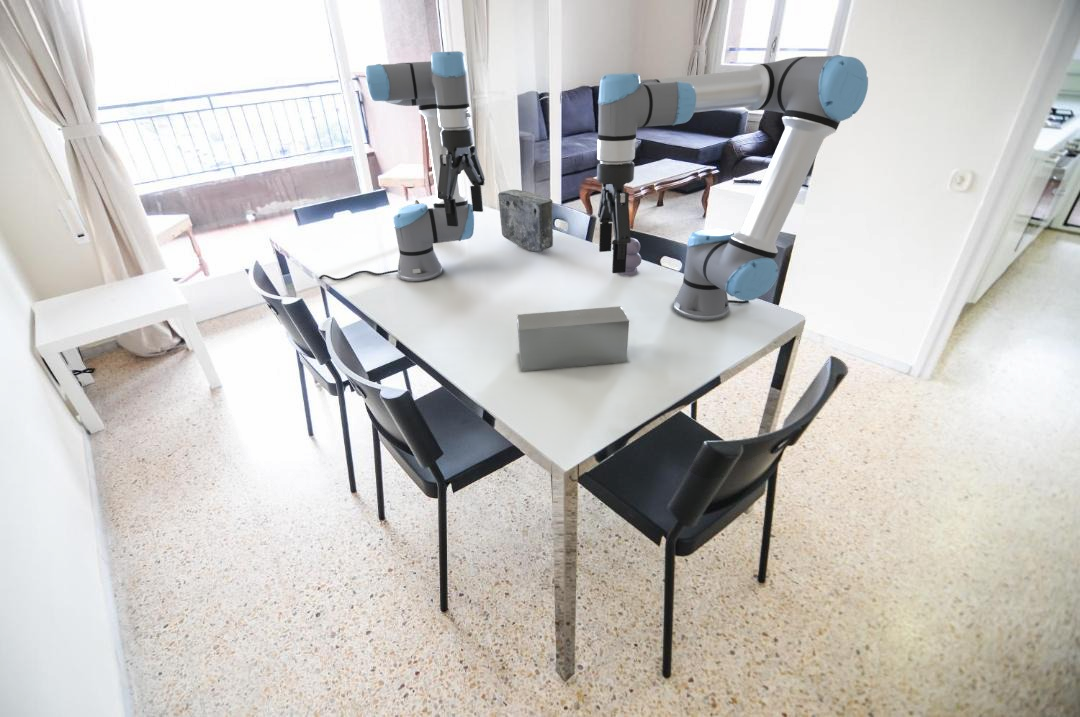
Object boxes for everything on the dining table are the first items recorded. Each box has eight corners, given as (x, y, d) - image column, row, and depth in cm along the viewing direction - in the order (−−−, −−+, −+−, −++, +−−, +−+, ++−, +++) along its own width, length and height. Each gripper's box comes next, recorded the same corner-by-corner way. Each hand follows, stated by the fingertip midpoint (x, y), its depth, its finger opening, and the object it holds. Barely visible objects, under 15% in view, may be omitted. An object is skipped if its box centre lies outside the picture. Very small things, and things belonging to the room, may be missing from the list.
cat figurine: (645, 271, 170) (647, 237, 164) (632, 278, 165) (634, 243, 159) (624, 266, 175) (626, 232, 169) (611, 272, 170) (612, 238, 164)
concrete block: (558, 253, 189) (557, 199, 178) (539, 258, 184) (537, 204, 174) (519, 237, 207) (516, 187, 197) (501, 241, 203) (497, 191, 193)
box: (521, 371, 120) (519, 329, 114) (519, 354, 126) (516, 314, 120) (626, 362, 122) (629, 320, 116) (618, 346, 128) (620, 306, 122)
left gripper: (442, 136, 106) (454, 233, 117) (493, 121, 126) (499, 206, 137) (412, 135, 108) (427, 231, 119) (466, 121, 128) (475, 205, 139)
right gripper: (652, 172, 90) (643, 281, 101) (619, 150, 111) (615, 242, 122) (611, 174, 90) (607, 283, 101) (586, 152, 111) (585, 244, 122)
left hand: (465, 218), depth 128 cm, fingers open, 13 cm apart
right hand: (611, 261), depth 112 cm, fingers open, 13 cm apart
